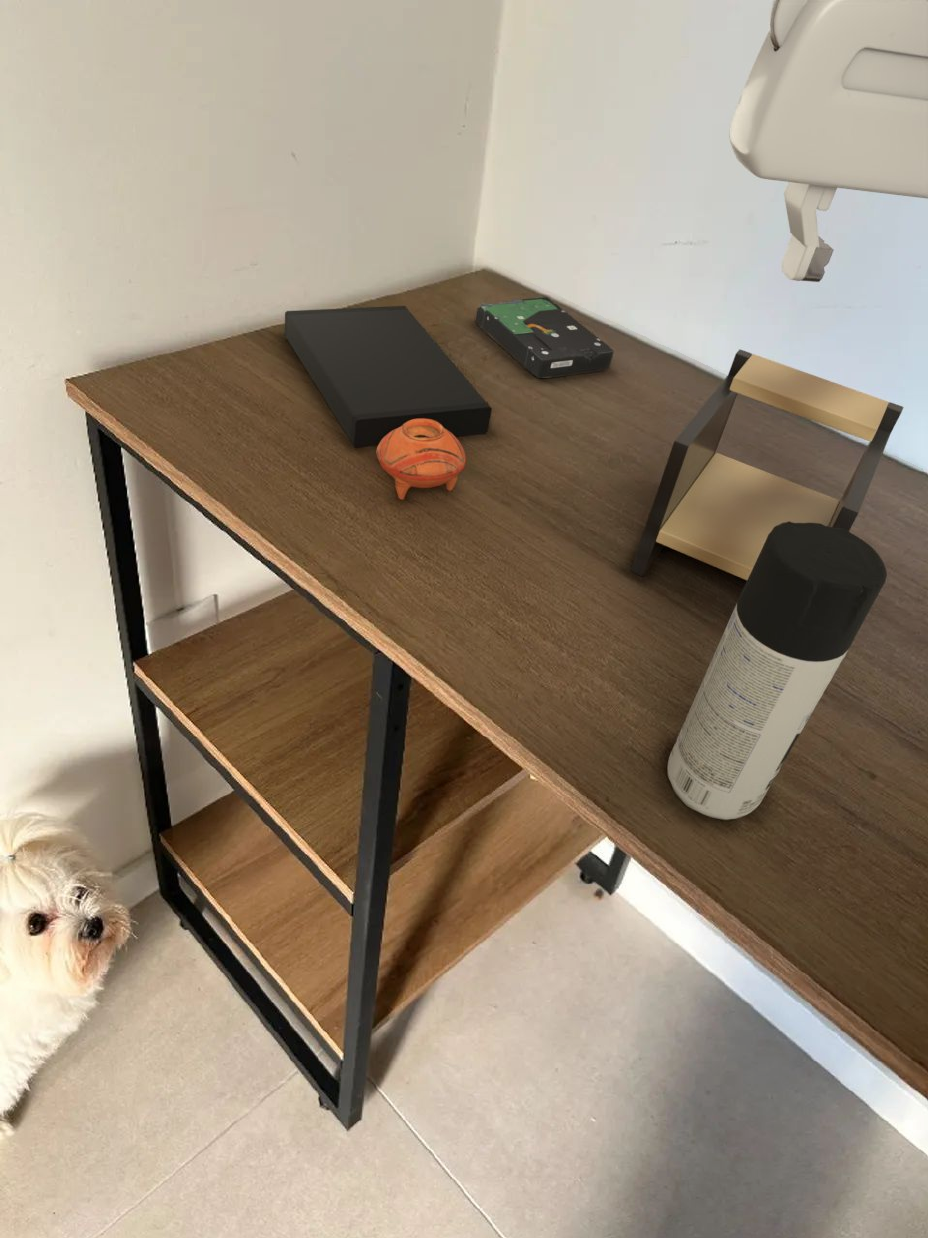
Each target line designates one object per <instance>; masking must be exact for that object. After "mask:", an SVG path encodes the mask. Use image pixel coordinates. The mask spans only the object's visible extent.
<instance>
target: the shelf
mask: <svg viewBox="0 0 928 1238" xmlns="http://www.w3.org/2000/svg"><path fill="white" fill-rule="evenodd" d="M738 394H739V395H742V396H744V397H748V398H749V399H752V400H756V401H758V402H760V403H764V404H766V405H769V406H772V407H774V408H777V409H780V410H783V411H785V412H789V413H791V414H794V415H796V416H798V417H799V416H800V417H802V418H805V419H807V420H810V421H813V422H815V423H818V424H821V425H824V426H827V427H829V428H833V429H834V430H837V431H839V432H843V433H845V434H848V435H851V436H854V437H856V438H859V439H862V440H865V441H867V442H868V443H867V445H866V448H865V450H864V452H863V454H862V456H861V458H860V460H859V462H858V464H857V466H856V468H855V470H854V472H853V474H852V476H851V478H850V481H849V482H848V484H847V486H846V488H845V490H844V492H843V494H842V496H841V498H840V500H839V499H838V498H837V499H836V498H834V497H833V496H829V495H827V494H824V493H821V492H819V491H816V490H814V489H812V488H810V487H809V488H808V487H806V486H803V485H801V484H799V483H795V482H794V481H790V480H788V479H786V478H783V477H780V476H777V475H776V474H773V473H770V472H768V471H765V470H762V469H760V468H757V467H755V466H752V465H749V464H747V463H744V462H741V461H739V460H736V459H734V458H732V457H729V456H727V455H724V454H721V453H718V452H717V449H718V447H719V445H720V441H721V439H722V436H723V433H724V431H725V428H726V425H727V423H728V420H729V417H730V415H731V412H732V410H733V408H734V404H735V401H736V399H737V397H738ZM903 410H904V406H902V405H900V404H896V403H894V402H891V401H888V400H885V399H882V398H879V397H877V396H874V395H871V394H868V393H865V392H862V391H860V390H856V389H854V388H851V387H848V386H845V385H842V384H839V383H836V382H834V381H831V380H828V379H826V378H823V377H820V376H817V375H814V374H812V373H808V372H806V371H803V370H801V369H797V368H794V367H791V366H788V365H785V364H783V363H780V362H777V361H774V360H771V359H769V358H766V357H763V356H760V355H757V354H754V353H751V352H749V351H746V350H743V349H738V350H737V352H736V353H735V355H734V358H733V360H732V363H731V366H730V369H729V371H728V374H727V375H726V377H725V378H724V379H723V381H721V383H720V384H719V385H718V386H717V388H716V389H715V390H714V391H713V392H712V394H711V395H710V396H709V398H708V399H707V400H706V401H705V402H704V404H703V405H702V406H701V407H700V409H699V410H697V412H696V414H695V415H694V416H693V417H692V418H691V420H690V421H689V422H688V423H687V425H686V426H685V427H684V428H683V430H682V431H681V432H680V433H679V434H678V435H677V437H676V438H675V440H674V441H673V444H672V447H671V450H670V453H669V456H668V459H667V462H666V463H665V467H664V470H663V473H662V476H661V479H660V482H659V485H658V488H657V491H656V494H655V497H654V500H653V503H652V505H651V509H650V512H649V514H648V518H647V521H646V523H645V526H644V529H643V532H642V534H641V535H642V536H641V538H640V541H639V544H638V547H637V550H636V553H635V556H634V559H633V562H632V565H631V567H630V572H631V573H633V574H635V575H637V576H639V577H644V576H645V574H646V573H648V570H649V569H650V567H651V566H652V564H653V563H654V561H655V560H656V559H657V557H658V556H659V555H660V553H661V552H662V550H663V549H664V547H667V548H670V549H672V550H675V551H677V552H679V553H681V554H684V555H686V556H688V557H691V558H693V559H695V560H698V561H700V562H702V563H705V564H707V565H709V566H712V567H714V568H717V569H718V570H721V571H724V572H726V573H728V574H731V575H732V576H736V577H738V578H740V579H742V580H745V581H747V580H748V578H749V576H750V574H751V571H752V569H753V567H754V565H755V563H756V561H757V558H758V556H759V554H760V552H761V550H762V548H763V545H764V543H765V541H766V539H767V537H768V534H769V533H770V532H771V531H772V529H773V528H774V527H775V526H777V525H779V524H781V523H785V522H789V521H790V522H793V523H820V524H822V525H824V526H828V527H833V528H841V529H844V530H847V531H849V532H850V531H851V528H852V527H853V525H854V523H855V521H856V519H857V517H858V515H859V514H860V511H861V508H862V505H863V503H864V500H865V498H866V496H867V494H868V491H869V489H870V486H871V483H872V481H873V478H874V476H875V473H876V471H877V470H878V469H877V468H878V466H879V464H880V461H881V458H882V457H883V453H884V451H885V449H886V446H887V444H888V442H889V438H890V436H891V434H892V431H893V430H894V428H895V426H896V424H897V423H898V420H899V418H900V416H901V414H902V412H903Z"/></svg>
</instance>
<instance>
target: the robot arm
mask: <svg viewBox="0 0 928 1238" xmlns="http://www.w3.org/2000/svg"><path fill="white" fill-rule="evenodd" d="M749 72H750V73H749V75H748V76H747V80H746V82H745V84H744V87H743V90H742V92H741V95H740V97H739V101H738V103H737V105H736V107H735V111H734V114H733V117H732V120H731V123H730V127H729V131H728V138H729V139H728V140H729V142H730V146H731V149H732V151H733V153H734V156H735V158H736V160H737V161H738V162H739V163H740V164H741V165H742V166H743V167H744V168H745V169H747V171H748V172H750V173H751V174H752V175H754V176H755V177H757V178H760V179H762V180H768V181H769V180H770V181H778V182H785V183H787V184H786V187H785V190H784V193H783V197H784V204H785V209H786V214H787V221H788V227H789V232H790V234H791V237H790V239H789V242H788V245H787V248H786V250H785V253H784V255H783V258H782V261H781V272H782V273H783V274H784V275H785V276H786V277H787V278H788V279H789V280H791V281H795V282H796V281H797V282H812V283H820V282H821V280H822V279H823V277H824V275H825V274H826V271H825V267H826V266H827V265H828V264H829V263H830V261H831V258H832V255H833V253H834V249H833V247H832V246H830V245H829V244H828V243H825V240H824V239H823V238H822V237H820V236H819V228H818V218H817V210H818V211H822V212H826V211H828V210H830V207H831V204H832V201H833V200H834V197H835V194H836V192H837V189H844V190H852V191H853V190H854V191H860V192H861V191H862V192H868V193H869V192H870V193H878V194H885V195H894V196H895V195H896V196H902V197H910V198H918V199H919V198H920V199H926V200H927V199H928V0H773V1H772V5H771V8H770V11H769V19H768V32H767V34H766V37H765V39H764V41H763V43H762V45H761V47H760V49H759V52H758V54H757V56H756V58H755V60H754V63H753V65H752V68H751V70H750V71H749Z"/></svg>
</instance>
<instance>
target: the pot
mask: <svg viewBox="0 0 928 1238" xmlns="http://www.w3.org/2000/svg"><path fill="white" fill-rule="evenodd" d="M375 453H376V458H377V459H378V462H379V464H380V467H381V468H382V469H383V470H384V471H385V472H386V473H387V474H388V475H390V476H391V477H392V478H393V479H394V484H395V490H396V493H397V497H398V500H404V499H405V497H406V494H407V493H408V491H409V489H410V488H417V489H430V488H431V489H432V488H436V487H439V486H442V485H444V484H445V485H446V486H445V487H446V490H447V491H449V492H450V491H452V490H453V489H454V488H455V486H456V484H457V480H458V477H459V474H460V473H461V472H462V471H463V470H464V467H465V466H466V463H467V456H466V452H465V450H464V447H463V445H462V444H461V442H460V440H459V439H458V438H457V437H455V436H454V435H453V434H452V433H451V432H449V431H448V430H447V429H445V428H443V426H442V425H441V424H440V423H439V422H437V421H435V420H432V419H424V418H420V419H412V420H410V421H408V422H406V423H404V424H403V425H402V426H401V427H399V428H396V429H395V430H393V431H391V432H390V433H388V434H387V435H386V436H385V437H384V438H383V439H382V440H381V442H380V443H379V445H377V447H376V452H375Z"/></svg>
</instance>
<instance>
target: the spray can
mask: <svg viewBox="0 0 928 1238" xmlns="http://www.w3.org/2000/svg"><path fill="white" fill-rule="evenodd" d="M887 576H888V574H887V568H886V565H885V562H884V561H883V559H882V558H881V556H880V554H879V553H878V552H877V551H876V549H874V548H873V547H872V546H871V545H870V544H869V543H868V542H866V541H865V540H863V539H862V538H860V537H859V536H857V535H855V534H853V533H852V532H851V531H850V530H849V531H847V530H844V529H841V528H833V527H828V526H824V525H822V524H820V523H793V522H790V521H789V522H785V523H781V524H779V525H777V526H775V527H774V528H773V529H772V531H771V532H770V533H769V534H768V537H767V539H766V541H765V543H764V545H763V548H762V550H761V552H760V554H759V556H758V558H757V561H756V563H755V565H754V567H753V569H752V571H751V574H750V576H749V578H748V580H746V582H745V584H744V586H743V588H742V591H741V592H740V594H739V596H738V599H737V601H736V604H735V606H734V609H733V611H732V613H731V615H730V617H729V619H728V621H727V625H726V627H725V628H724V632H723V634H722V636H721V638H720V640H719V643H718V645H717V648H716V649H715V652H714V653H713V657H712V659H711V661H710V663H709V665H708V668H707V670H706V673H705V674H704V676H703V679H702V681H701V683H700V686H699V687H698V691H697V693H696V695H695V697H694V700H693V702H692V704H691V707H690V709H689V711H688V713H687V715H686V717H685V719H684V722H683V724H682V727H681V729H680V731H679V734H678V735H677V737H676V741H675V743H674V745H673V747H672V749H671V751H670V754H669V756H668V761H667V768H666V769H667V777H668V781H669V782H670V784H671V787H672V790H673V792H674V793H675V795H676V796H677V797H678V798H679V799H680V800H681V801H682V803H684V805H685V806H686V807H688V808H690V809H691V810H693V811H695V812H697V813H700V814H702V815H704V816H706V817H709V818H713V819H718V820H723V821H730V820H736V819H741V818H742V817H745V816H747V815H749V814H751V813H752V812H753V811H754V810H756V809H757V808H758V807H759V805H760V804H761V803H762V801H763V800H764V798H765V796H766V795H767V793H768V791H769V790H770V787H771V786H772V784H773V782H774V781H775V779H776V778H777V777H778V775H779V773H780V770H781V768H782V766H783V765H784V763H785V761H786V759H787V758H788V756H789V754H790V752H791V751H792V749H793V747H794V746H795V744H796V742H797V740H798V738H799V736H800V735H801V733H802V731H803V729H804V727H805V726H806V724H807V723H808V721H809V719H810V717H811V715H812V714H813V712H814V710H815V709H816V707H817V706H818V704H819V702H820V700H821V699H822V697H823V695H824V693H825V691H826V690H827V688H828V686H829V685H830V683H831V681H832V679H833V677H834V675H835V673H836V672H837V670H838V669H839V667H840V666H841V664H842V662H843V660H844V659H845V657H846V655H847V653H848V651H849V649H850V648H851V646H852V644H853V642H854V640H855V638H856V636H857V635H858V633H859V630H861V627H862V625H863V623H864V622H865V619H866V618H867V616H868V614H869V612H870V611H871V610H872V607H873V605H874V604H875V601H876V600H877V598H878V596H879V594H880V593H881V591H882V589H883V587H884V585H885V583H886V580H887Z"/></svg>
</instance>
